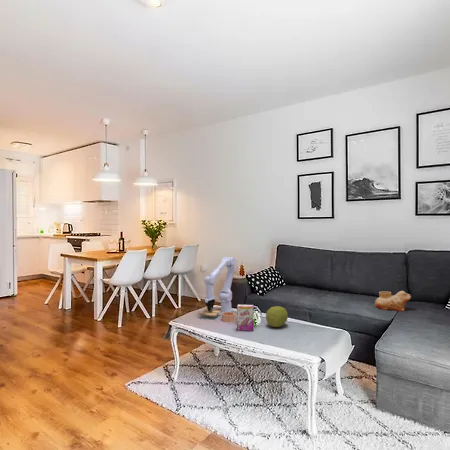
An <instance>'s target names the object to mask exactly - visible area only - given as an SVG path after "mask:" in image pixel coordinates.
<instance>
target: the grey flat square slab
mask: <svg viewBox="0 0 450 450" xmlns="http://www.w3.org/2000/svg"><path fill="white" fill-rule="evenodd" d="M220 318H222V313H219V314H218V315H216V316H206V315H199V316H198V317H196V318H195V319H196V320H197V319H198V320H204V321H206V320H207V321H213V322H214V321H215V322H216V321H218V320H219V319H220Z"/></svg>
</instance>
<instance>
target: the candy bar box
mask: <svg viewBox="0 0 450 450" xmlns="http://www.w3.org/2000/svg"><path fill="white" fill-rule="evenodd" d="M254 310H255V307H254V304H237V306H236V331H240V332H241V331H243V332H244V331H247V332H254V328H255V327H254V325H255V324H254V322H255V321H254V320H255V319H254V317H255V316H254V313H255V311H254Z"/></svg>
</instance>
